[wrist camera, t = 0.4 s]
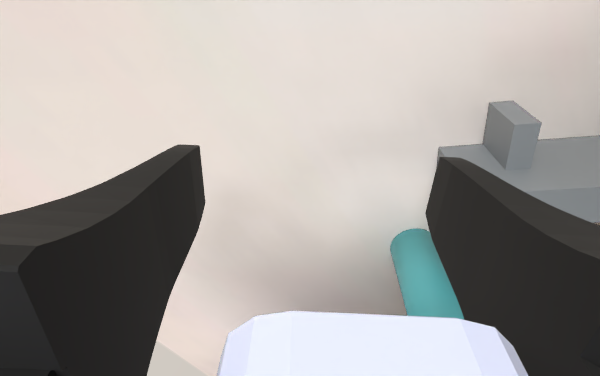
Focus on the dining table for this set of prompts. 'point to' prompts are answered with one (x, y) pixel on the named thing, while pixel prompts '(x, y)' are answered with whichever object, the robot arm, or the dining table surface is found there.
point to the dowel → (423, 276)
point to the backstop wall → (537, 161)
